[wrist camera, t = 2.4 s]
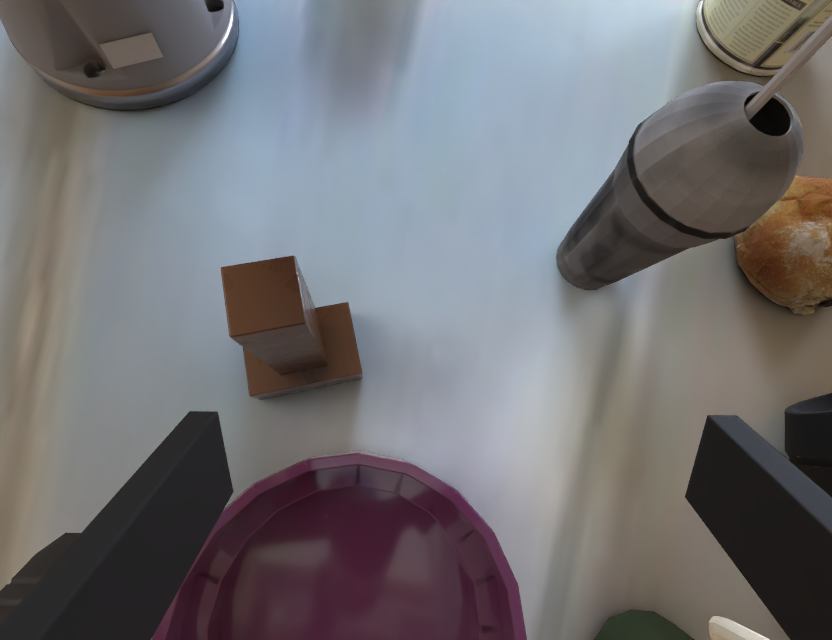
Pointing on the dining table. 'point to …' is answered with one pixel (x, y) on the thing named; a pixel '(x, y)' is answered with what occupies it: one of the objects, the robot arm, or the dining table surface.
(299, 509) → the bowl
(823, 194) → the bread roll
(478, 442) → the dining table surface
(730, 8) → the coffee can
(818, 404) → the portable speaker
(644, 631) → the character mug
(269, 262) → the wooden stamp
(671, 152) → the beverage cup
